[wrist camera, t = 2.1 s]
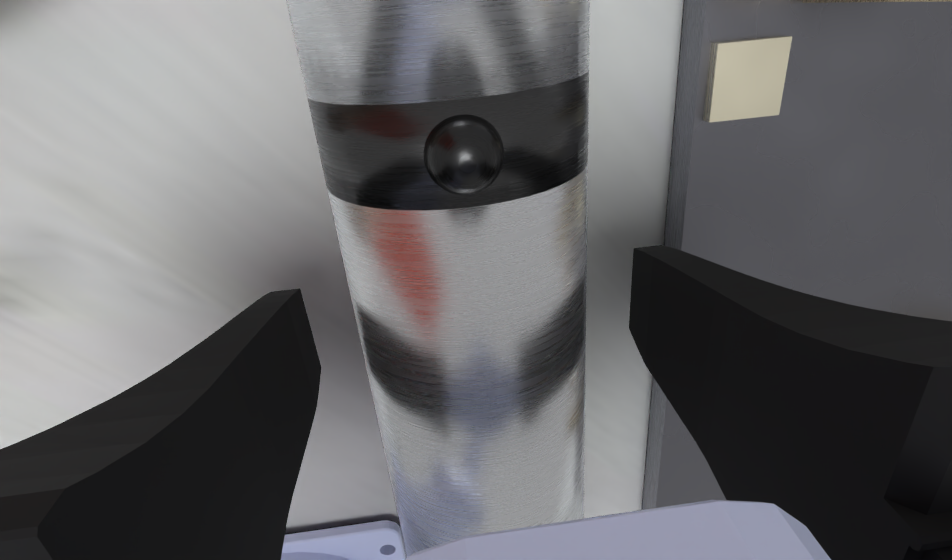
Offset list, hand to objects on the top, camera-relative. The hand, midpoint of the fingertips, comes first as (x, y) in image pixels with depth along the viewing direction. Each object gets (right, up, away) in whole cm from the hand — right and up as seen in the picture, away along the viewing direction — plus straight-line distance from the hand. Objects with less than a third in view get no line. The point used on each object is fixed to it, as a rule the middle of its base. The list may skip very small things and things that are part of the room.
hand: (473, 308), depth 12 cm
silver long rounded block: (0, +1, +2) cm, 3 cm away
